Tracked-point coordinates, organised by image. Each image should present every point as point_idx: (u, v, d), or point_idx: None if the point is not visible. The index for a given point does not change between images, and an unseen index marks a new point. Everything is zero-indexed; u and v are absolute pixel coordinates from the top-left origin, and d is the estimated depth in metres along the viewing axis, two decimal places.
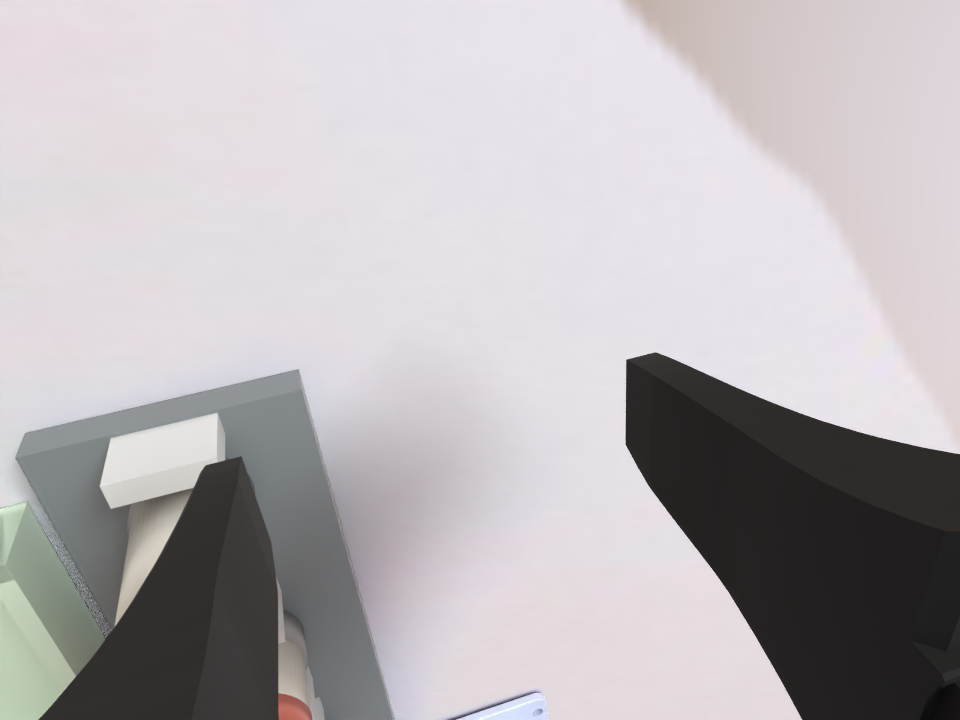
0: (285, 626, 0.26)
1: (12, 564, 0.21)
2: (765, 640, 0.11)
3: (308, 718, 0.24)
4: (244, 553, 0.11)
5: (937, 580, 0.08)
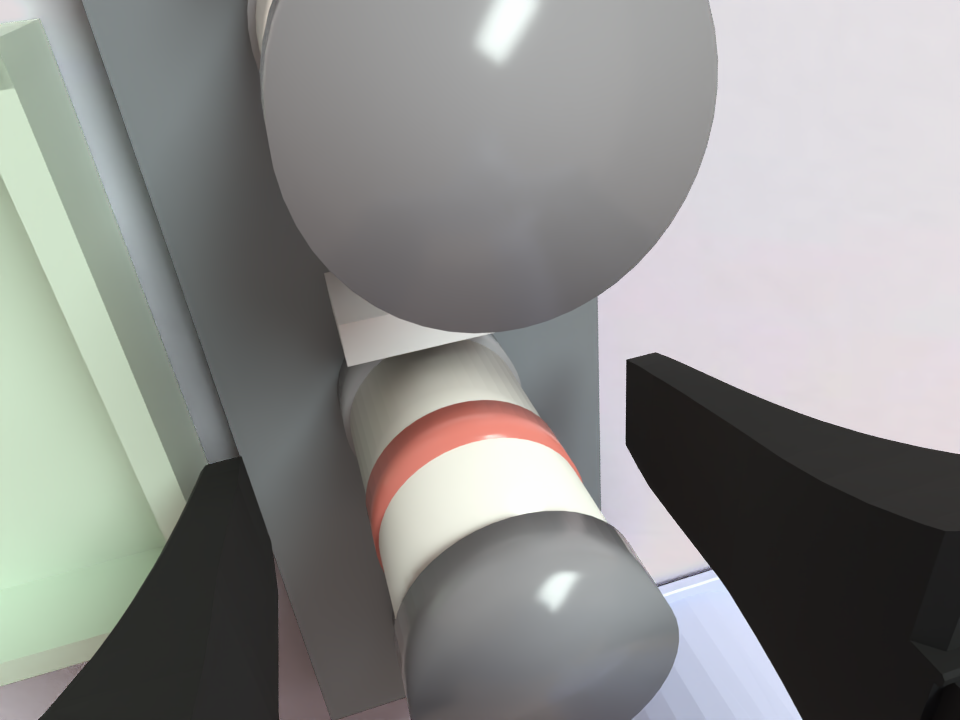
0: (490, 337, 0.15)
1: (10, 59, 0.10)
2: (765, 640, 0.11)
3: None
4: (244, 553, 0.11)
5: (938, 580, 0.08)
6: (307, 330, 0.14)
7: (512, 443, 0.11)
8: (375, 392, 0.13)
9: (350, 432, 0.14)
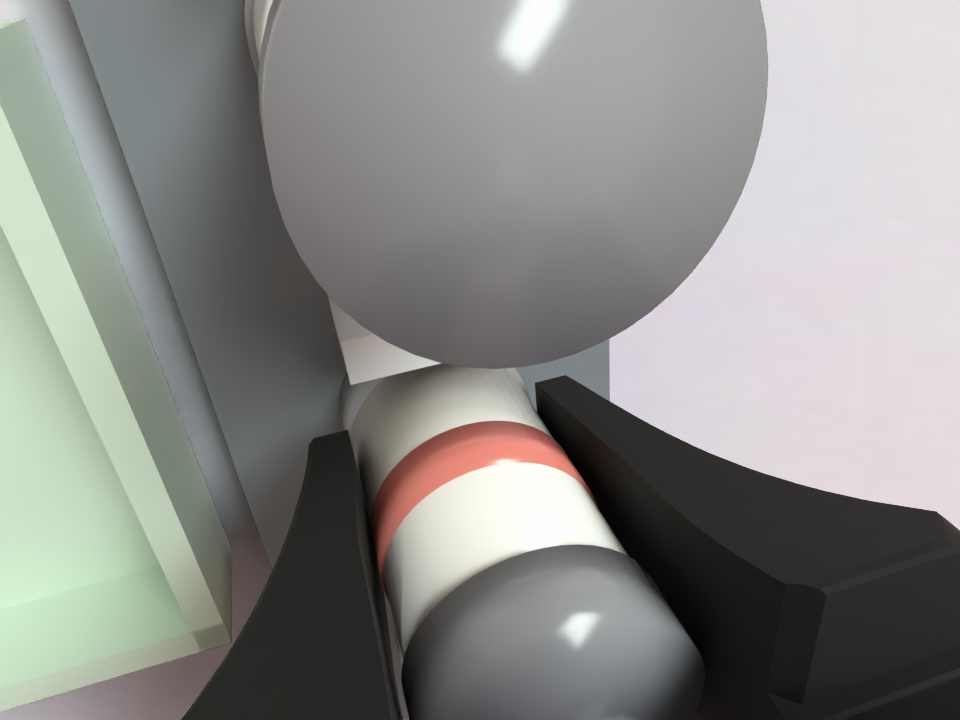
0: None
1: None
2: None
3: None
4: (364, 520, 0.11)
5: (785, 633, 0.07)
6: (307, 344, 0.14)
7: (525, 468, 0.10)
8: (379, 410, 0.13)
9: None
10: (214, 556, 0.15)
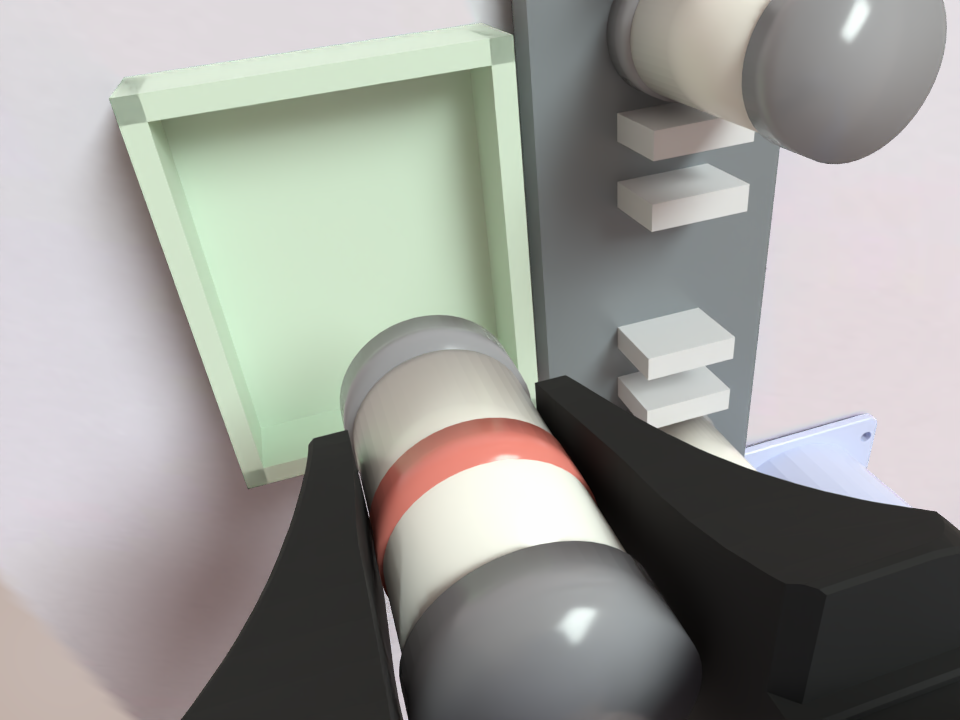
0: (497, 347, 0.14)
1: (509, 46, 0.18)
2: None
3: None
4: (363, 520, 0.11)
5: (785, 632, 0.07)
6: (600, 220, 0.22)
7: (521, 464, 0.10)
8: (378, 409, 0.13)
9: (353, 449, 0.14)
10: None
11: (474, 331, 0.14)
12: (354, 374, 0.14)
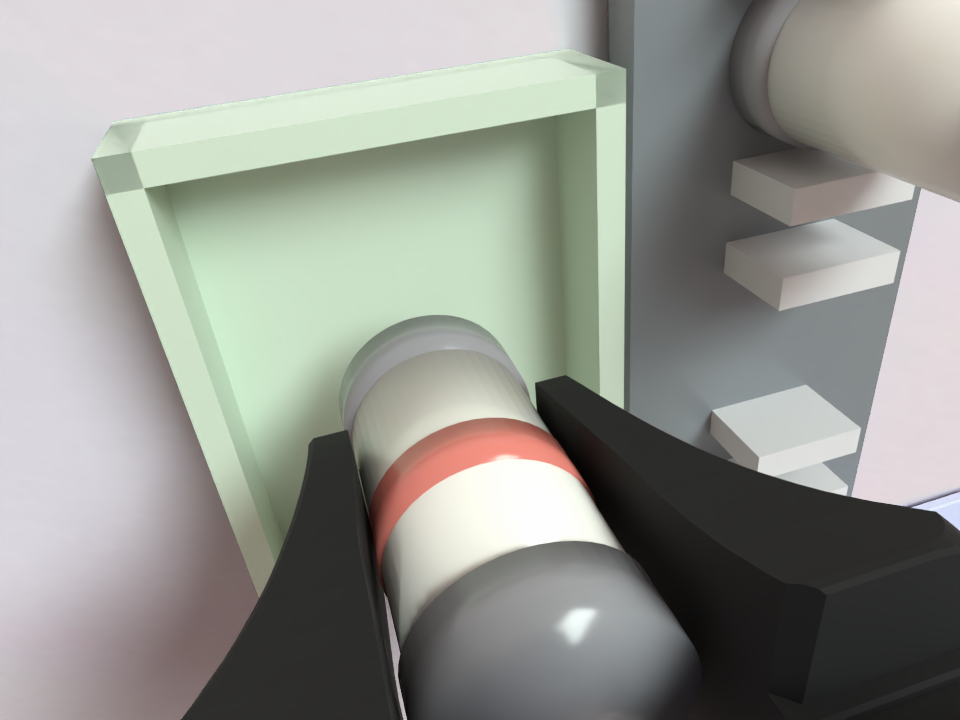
0: (496, 346, 0.14)
1: (618, 82, 0.14)
2: None
3: None
4: (363, 520, 0.11)
5: (785, 633, 0.07)
6: (702, 288, 0.18)
7: (520, 464, 0.10)
8: (376, 409, 0.13)
9: None
10: None
11: (473, 331, 0.14)
12: (353, 374, 0.14)
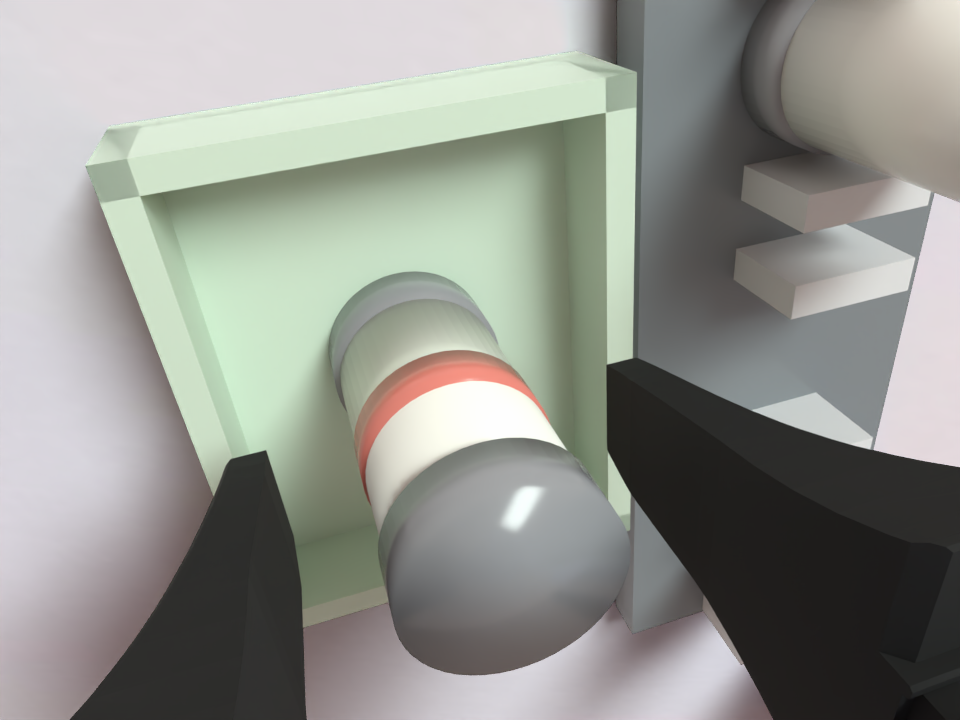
0: (468, 299, 0.16)
1: (629, 86, 0.13)
2: (742, 648, 0.11)
3: None
4: (272, 545, 0.11)
5: (905, 593, 0.08)
6: (712, 295, 0.18)
7: (483, 384, 0.12)
8: (361, 349, 0.14)
9: (340, 389, 0.15)
10: None
11: (447, 284, 0.16)
12: (341, 323, 0.16)
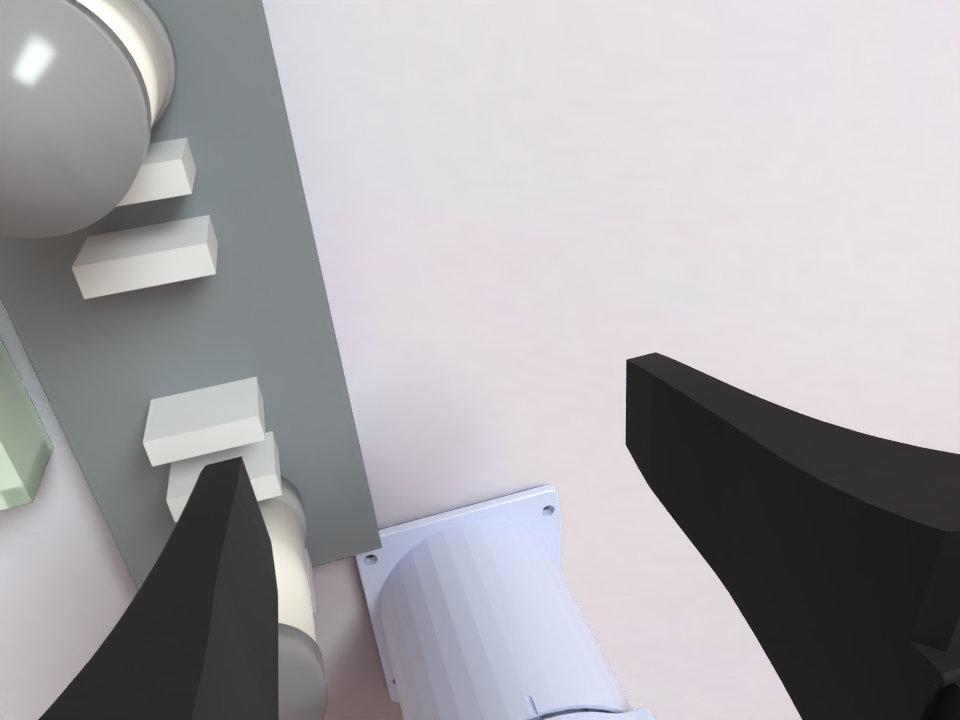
0: None
1: None
2: (765, 640, 0.11)
3: None
4: (244, 553, 0.11)
5: (937, 580, 0.08)
6: None
7: None
8: None
9: None
10: (24, 440, 0.20)
11: None
12: None
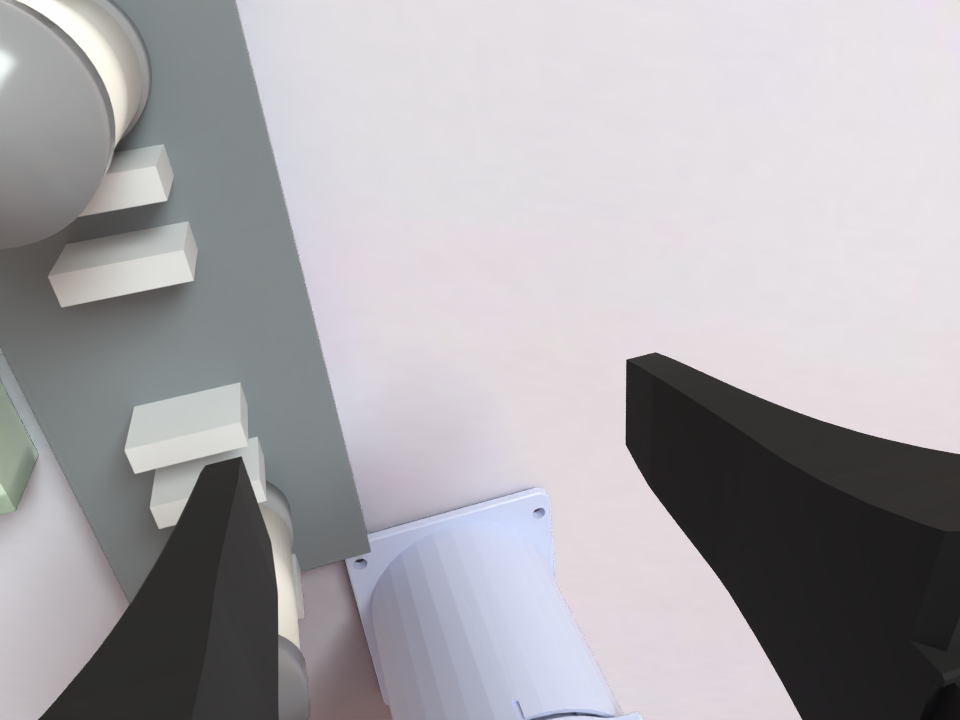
0: None
1: None
2: (765, 640, 0.11)
3: None
4: (244, 553, 0.11)
5: (938, 580, 0.08)
6: None
7: None
8: None
9: None
10: (7, 449, 0.20)
11: None
12: None
